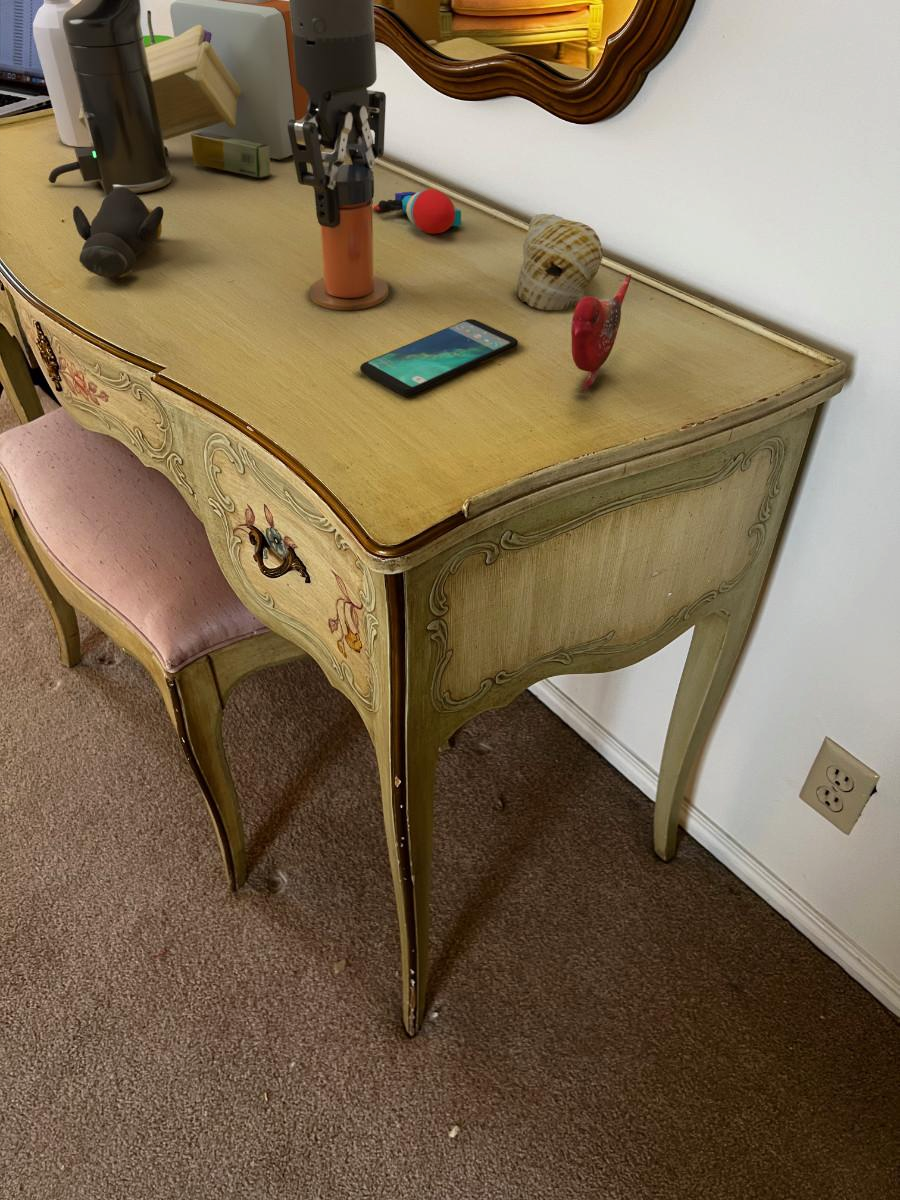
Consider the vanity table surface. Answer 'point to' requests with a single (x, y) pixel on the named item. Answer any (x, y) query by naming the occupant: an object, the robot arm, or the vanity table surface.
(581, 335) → the decorative bird figurine
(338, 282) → the jar
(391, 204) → the toy figure
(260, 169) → the medication box
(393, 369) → the smartphone
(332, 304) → the coaster
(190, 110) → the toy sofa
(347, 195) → the lid
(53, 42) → the soap bottle
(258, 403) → the vanity table surface
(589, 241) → the seashell
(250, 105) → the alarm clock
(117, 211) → the toy
